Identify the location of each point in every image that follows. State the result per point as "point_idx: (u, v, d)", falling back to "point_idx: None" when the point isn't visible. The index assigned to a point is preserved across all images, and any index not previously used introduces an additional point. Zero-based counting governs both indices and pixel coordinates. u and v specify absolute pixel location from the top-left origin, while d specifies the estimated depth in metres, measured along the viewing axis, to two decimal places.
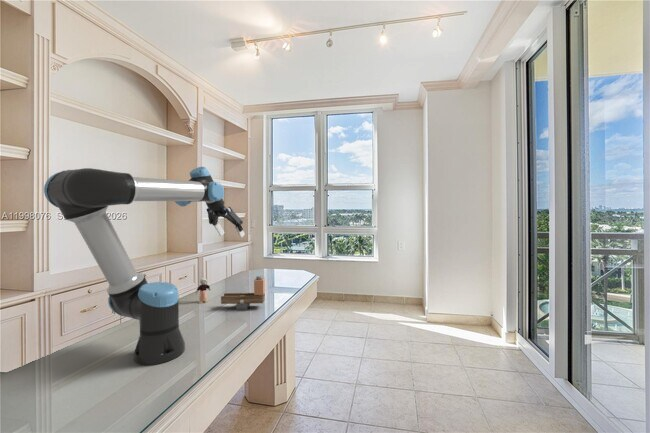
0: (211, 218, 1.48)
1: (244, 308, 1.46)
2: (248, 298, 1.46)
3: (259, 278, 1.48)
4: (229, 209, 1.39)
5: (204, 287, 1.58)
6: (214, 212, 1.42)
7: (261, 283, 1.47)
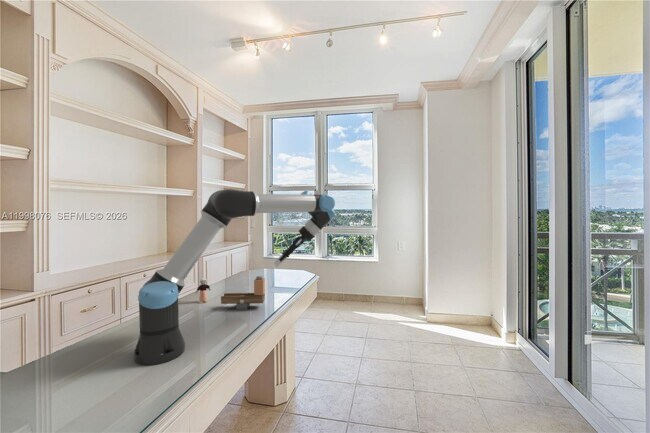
0: None
1: (244, 308, 1.46)
2: (248, 298, 1.46)
3: (259, 278, 1.48)
4: (297, 243, 1.43)
5: (204, 287, 1.58)
6: None
7: (261, 283, 1.47)
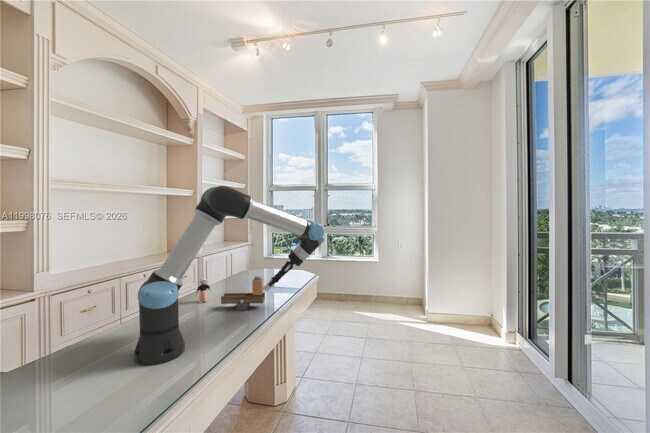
0: None
1: (244, 308, 1.46)
2: (248, 298, 1.46)
3: (257, 278, 1.48)
4: (285, 269, 1.43)
5: (204, 287, 1.58)
6: (287, 261, 1.51)
7: (259, 283, 1.47)
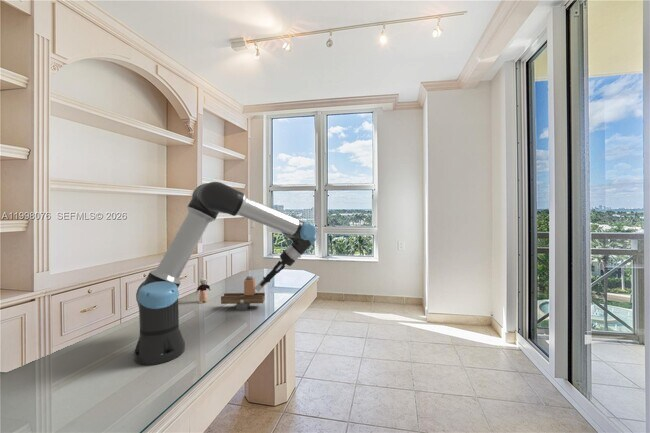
0: None
1: (244, 308, 1.46)
2: (248, 298, 1.46)
3: (249, 278, 1.48)
4: (277, 269, 1.43)
5: (204, 287, 1.58)
6: (279, 261, 1.51)
7: (251, 283, 1.47)
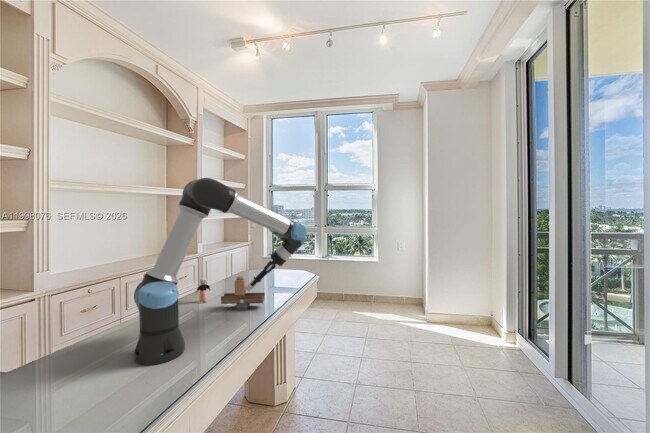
0: None
1: (244, 308, 1.46)
2: (248, 298, 1.46)
3: (240, 278, 1.48)
4: (267, 269, 1.43)
5: (204, 287, 1.58)
6: None
7: (242, 283, 1.47)
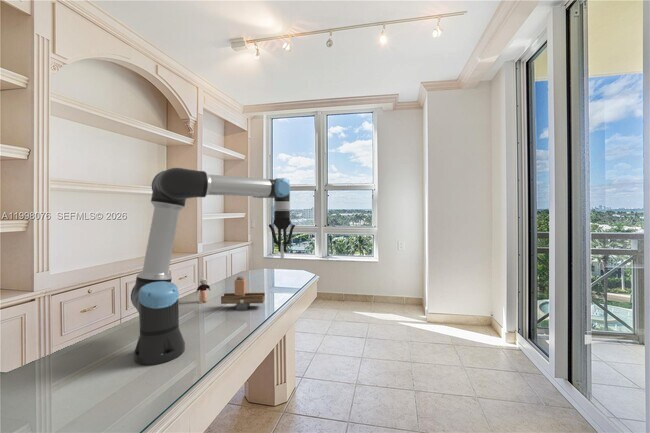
0: (275, 236, 1.48)
1: (244, 308, 1.46)
2: (248, 298, 1.46)
3: (240, 278, 1.48)
4: (294, 226, 1.49)
5: (204, 287, 1.58)
6: (278, 223, 1.46)
7: (242, 283, 1.47)
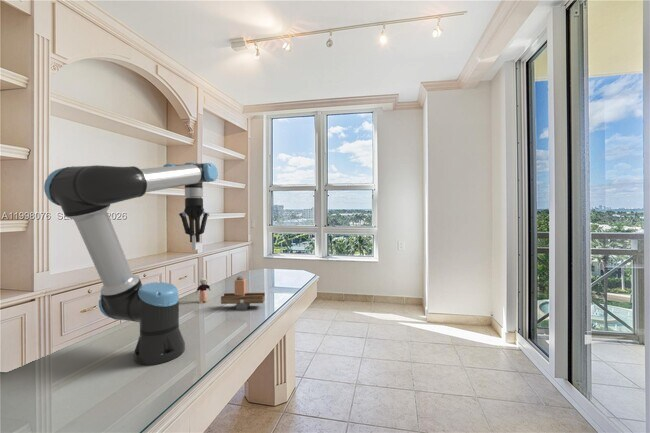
0: (186, 225, 1.37)
1: (244, 308, 1.46)
2: (248, 298, 1.46)
3: (240, 278, 1.48)
4: (207, 215, 1.38)
5: (204, 287, 1.58)
6: (189, 211, 1.35)
7: (242, 283, 1.47)
